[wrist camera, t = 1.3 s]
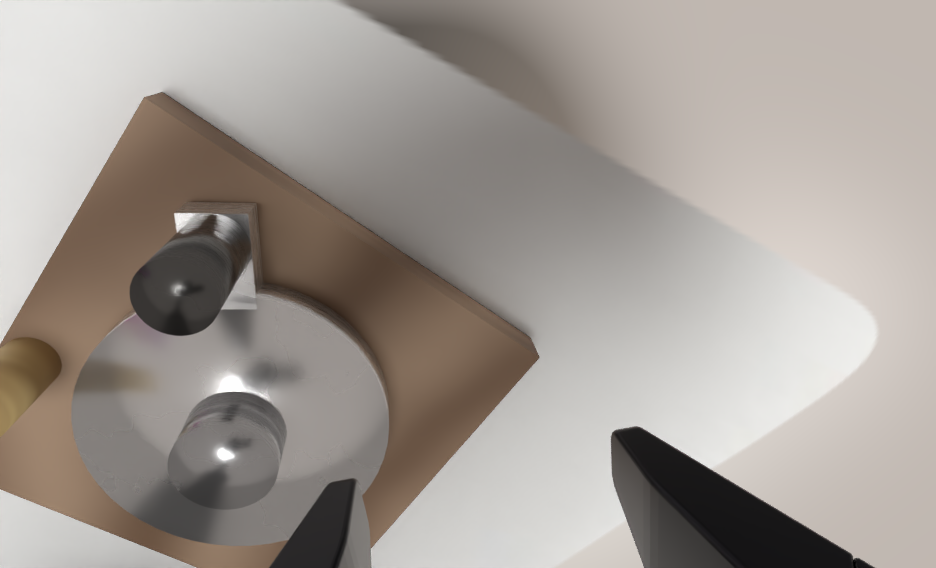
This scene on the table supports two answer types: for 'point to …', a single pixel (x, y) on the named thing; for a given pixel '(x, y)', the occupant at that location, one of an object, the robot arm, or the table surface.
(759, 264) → the table surface
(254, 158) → the base plate
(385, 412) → the flange
